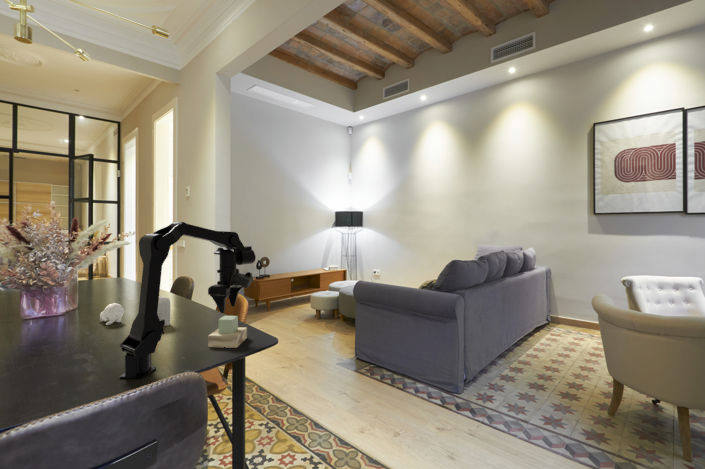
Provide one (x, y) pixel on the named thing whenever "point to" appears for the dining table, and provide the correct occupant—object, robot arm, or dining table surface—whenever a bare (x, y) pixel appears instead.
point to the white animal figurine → (112, 313)
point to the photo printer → (164, 309)
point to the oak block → (227, 338)
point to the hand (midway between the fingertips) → (228, 309)
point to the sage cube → (227, 324)
